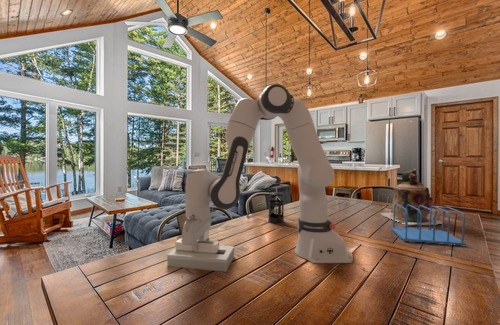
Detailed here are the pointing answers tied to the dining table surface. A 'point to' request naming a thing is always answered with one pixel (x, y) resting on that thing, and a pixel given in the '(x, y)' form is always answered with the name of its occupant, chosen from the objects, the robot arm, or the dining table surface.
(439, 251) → the dining table surface
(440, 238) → the file sorter
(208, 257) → the mounting board
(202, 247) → the cream rectangular block
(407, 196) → the cookie jar
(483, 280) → the dining table surface
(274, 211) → the french press
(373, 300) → the dining table surface
